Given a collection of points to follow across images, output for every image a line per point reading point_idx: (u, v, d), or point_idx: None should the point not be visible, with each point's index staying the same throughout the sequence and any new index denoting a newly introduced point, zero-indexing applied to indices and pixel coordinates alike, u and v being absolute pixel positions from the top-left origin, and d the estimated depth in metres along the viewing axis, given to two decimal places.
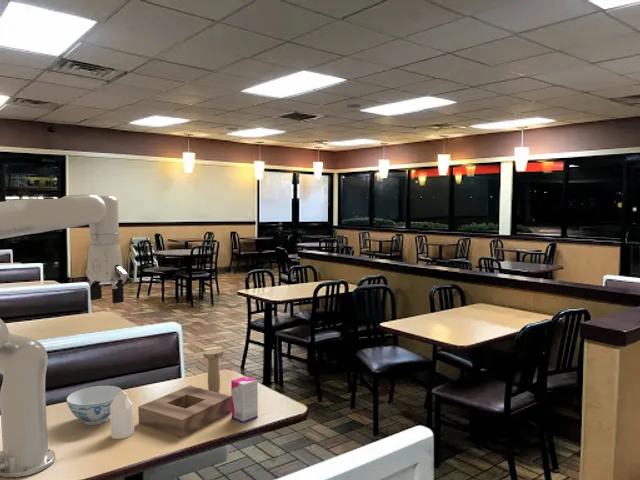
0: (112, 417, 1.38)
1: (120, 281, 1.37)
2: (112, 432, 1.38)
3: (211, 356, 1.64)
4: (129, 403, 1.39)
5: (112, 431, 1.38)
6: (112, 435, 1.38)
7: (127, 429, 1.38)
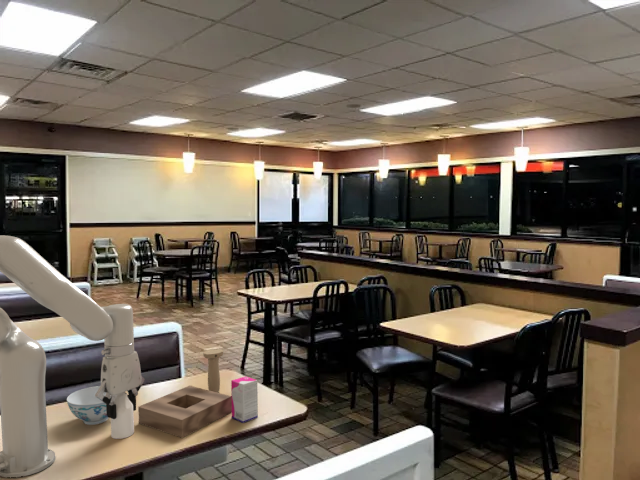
0: None
1: (140, 386, 1.44)
2: (112, 432, 1.38)
3: (211, 356, 1.64)
4: (129, 403, 1.39)
5: (112, 431, 1.38)
6: (112, 435, 1.38)
7: (127, 429, 1.38)
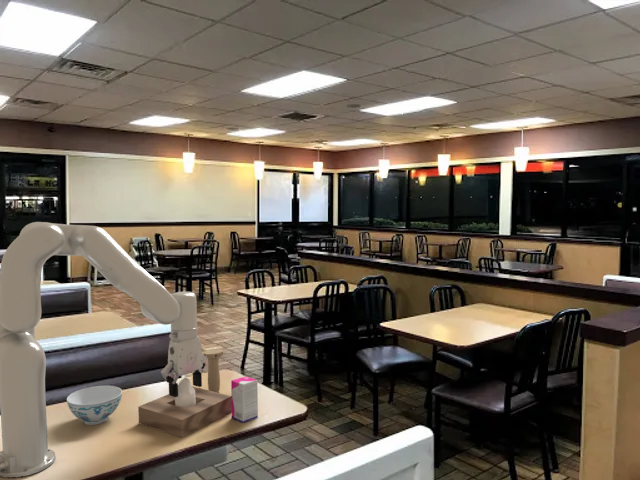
0: (177, 401, 1.48)
1: (204, 364, 1.56)
2: None
3: (211, 356, 1.64)
4: (192, 388, 1.50)
5: None
6: None
7: None
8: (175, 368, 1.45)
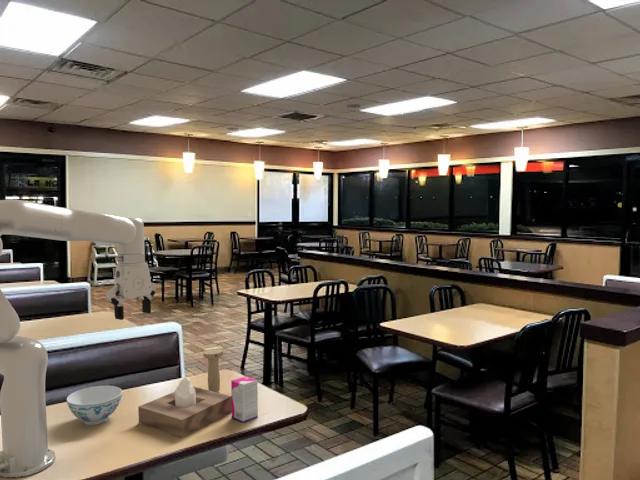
0: (177, 401, 1.48)
1: (154, 292, 1.57)
2: None
3: (211, 356, 1.64)
4: (192, 389, 1.50)
5: None
6: None
7: None
8: (121, 291, 1.46)
